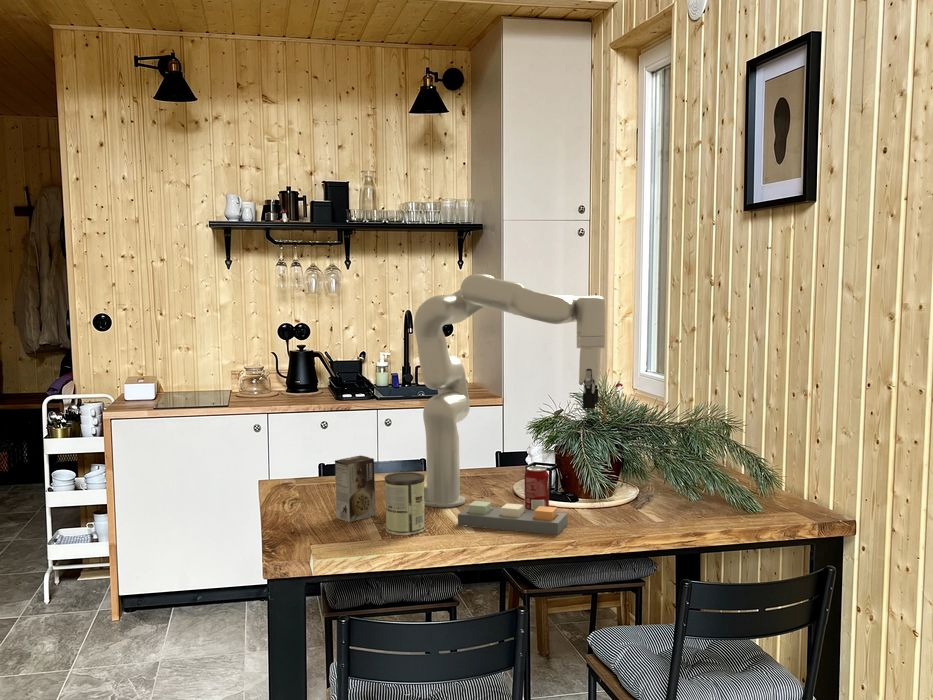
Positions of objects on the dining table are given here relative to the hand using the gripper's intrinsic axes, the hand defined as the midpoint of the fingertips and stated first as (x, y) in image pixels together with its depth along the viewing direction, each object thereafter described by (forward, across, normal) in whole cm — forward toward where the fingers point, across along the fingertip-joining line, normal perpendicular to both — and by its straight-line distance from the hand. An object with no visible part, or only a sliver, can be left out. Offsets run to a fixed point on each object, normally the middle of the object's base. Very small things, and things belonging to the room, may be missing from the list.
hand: (590, 405), depth 237 cm
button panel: (+30, +12, -19) cm, 38 cm away
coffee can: (+31, +22, -46) cm, 59 cm away
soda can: (+31, -3, -15) cm, 34 cm away
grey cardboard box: (+31, +13, -63) cm, 71 cm away
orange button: (+28, +14, -10) cm, 33 cm away
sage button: (+28, +11, -28) cm, 41 cm away
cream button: (+28, +13, -19) cm, 36 cm away
